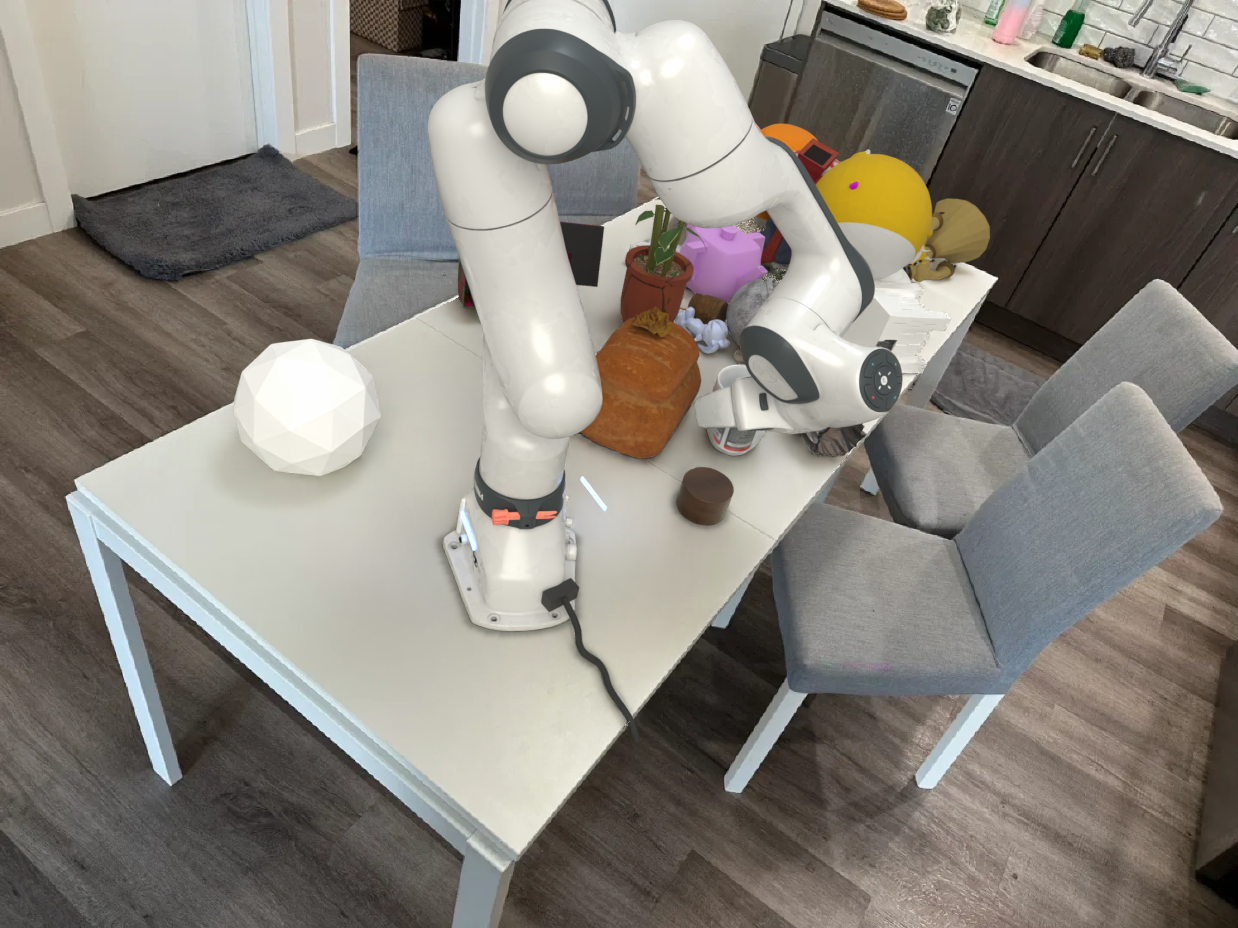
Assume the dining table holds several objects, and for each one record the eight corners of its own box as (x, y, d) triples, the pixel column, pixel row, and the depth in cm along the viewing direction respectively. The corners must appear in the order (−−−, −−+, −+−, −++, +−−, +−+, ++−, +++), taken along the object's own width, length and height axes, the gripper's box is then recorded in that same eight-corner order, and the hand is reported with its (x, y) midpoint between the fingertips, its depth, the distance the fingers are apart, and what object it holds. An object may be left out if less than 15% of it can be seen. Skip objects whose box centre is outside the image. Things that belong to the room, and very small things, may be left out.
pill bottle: (756, 442, 123) (777, 388, 117) (738, 460, 119) (759, 405, 113) (723, 423, 125) (742, 369, 118) (704, 440, 121) (723, 385, 115)
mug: (695, 406, 153) (713, 346, 145) (753, 414, 155) (775, 356, 146) (700, 460, 142) (720, 399, 134) (763, 469, 143) (787, 409, 135)
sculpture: (779, 306, 157) (863, 400, 139) (795, 347, 167) (875, 441, 149) (725, 340, 158) (802, 438, 140) (744, 380, 167) (817, 476, 149)
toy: (851, 221, 154) (965, 292, 166) (879, 102, 160) (987, 179, 172) (766, 264, 177) (872, 323, 189) (794, 159, 183) (894, 223, 195)
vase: (777, 249, 208) (811, 149, 192) (717, 221, 213) (746, 122, 197) (804, 229, 220) (838, 133, 204) (747, 203, 225) (776, 109, 209)
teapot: (751, 322, 179) (773, 258, 169) (667, 302, 179) (684, 237, 169) (752, 279, 194) (772, 218, 184) (674, 261, 193) (690, 199, 184)
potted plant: (603, 310, 171) (638, 140, 149) (673, 310, 177) (717, 145, 154) (630, 362, 160) (672, 185, 137) (704, 359, 165) (757, 189, 142)
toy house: (831, 254, 209) (890, 147, 186) (798, 296, 196) (858, 186, 173) (754, 211, 213) (803, 100, 190) (717, 249, 199) (765, 135, 176)
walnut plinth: (731, 524, 132) (740, 502, 129) (683, 526, 130) (691, 503, 126) (716, 489, 138) (724, 466, 134) (670, 490, 135) (677, 467, 132)
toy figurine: (697, 300, 172) (740, 322, 165) (693, 329, 176) (735, 352, 168) (672, 308, 168) (715, 330, 161) (669, 337, 172) (711, 360, 164)
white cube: (831, 335, 182) (889, 337, 187) (861, 375, 172) (922, 375, 177) (856, 277, 173) (917, 280, 178) (890, 315, 163) (953, 318, 168)
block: (469, 211, 151) (461, 205, 164) (463, 306, 156) (456, 293, 169) (604, 226, 158) (586, 219, 171) (594, 316, 164) (577, 303, 176)
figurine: (940, 197, 217) (866, 244, 205) (986, 190, 206) (912, 239, 194) (954, 260, 224) (884, 309, 211) (1000, 256, 213) (929, 308, 200)
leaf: (623, 325, 137) (625, 317, 136) (646, 310, 141) (648, 301, 140) (655, 345, 135) (658, 336, 134) (678, 328, 139) (680, 320, 138)
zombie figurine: (804, 294, 197) (754, 294, 190) (792, 271, 200) (742, 271, 192) (817, 278, 193) (766, 277, 185) (805, 256, 196) (754, 254, 188)
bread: (560, 431, 141) (576, 347, 130) (611, 370, 156) (629, 291, 145) (656, 472, 137) (680, 390, 126) (698, 406, 153) (723, 328, 142)
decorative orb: (753, 253, 162) (809, 279, 170) (706, 298, 172) (761, 320, 180) (765, 314, 155) (824, 338, 162) (716, 356, 165) (773, 377, 173)
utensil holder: (730, 296, 172) (680, 278, 177) (715, 312, 169) (664, 293, 173) (729, 319, 176) (680, 301, 181) (713, 335, 173) (664, 316, 178)
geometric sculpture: (323, 513, 127) (296, 493, 108) (224, 423, 127) (179, 388, 108) (413, 423, 132) (403, 389, 112) (318, 337, 132) (291, 288, 112)
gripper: (859, 366, 110) (796, 381, 123) (725, 380, 102) (672, 394, 115) (866, 414, 111) (802, 424, 123) (732, 432, 102) (679, 440, 115)
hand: (738, 410), depth 119 cm, fingers closed on pill bottle, 6 cm apart
